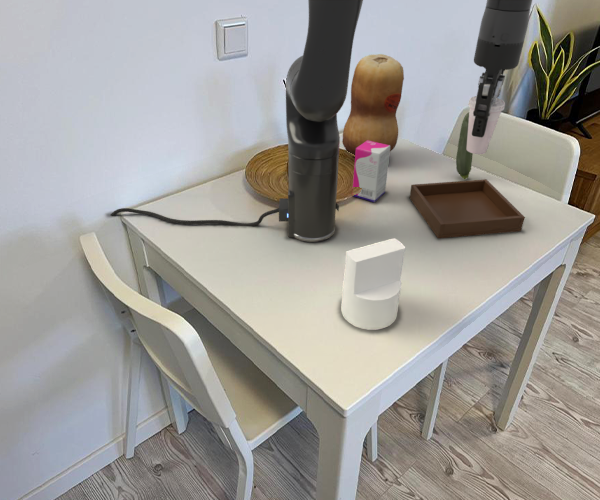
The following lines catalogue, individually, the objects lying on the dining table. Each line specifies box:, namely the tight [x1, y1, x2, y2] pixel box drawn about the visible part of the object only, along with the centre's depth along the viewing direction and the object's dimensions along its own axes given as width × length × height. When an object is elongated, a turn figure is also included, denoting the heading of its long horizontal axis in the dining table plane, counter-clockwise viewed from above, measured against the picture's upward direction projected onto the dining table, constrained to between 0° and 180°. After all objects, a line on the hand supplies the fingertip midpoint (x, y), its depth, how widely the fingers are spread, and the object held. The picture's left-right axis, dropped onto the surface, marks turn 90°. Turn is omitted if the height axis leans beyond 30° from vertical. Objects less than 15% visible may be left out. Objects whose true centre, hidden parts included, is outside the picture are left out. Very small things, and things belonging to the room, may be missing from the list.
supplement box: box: [352, 140, 391, 203], centre depth 111 cm, size 6×6×12 cm
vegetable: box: [455, 111, 474, 181], centre depth 116 cm, size 4×4×20 cm
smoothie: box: [466, 95, 506, 155], centre depth 95 cm, size 6×6×14 cm
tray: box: [409, 178, 526, 240], centre depth 107 cm, size 18×17×3 cm
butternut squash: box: [341, 53, 405, 155], centre depth 123 cm, size 14×13×25 cm
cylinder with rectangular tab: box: [340, 237, 406, 331], centre depth 79 cm, size 9×9×12 cm
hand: (480, 129), depth 97 cm, fingers closed on smoothie, 6 cm apart
